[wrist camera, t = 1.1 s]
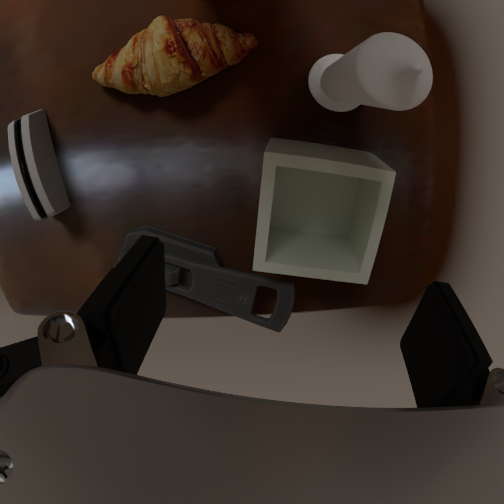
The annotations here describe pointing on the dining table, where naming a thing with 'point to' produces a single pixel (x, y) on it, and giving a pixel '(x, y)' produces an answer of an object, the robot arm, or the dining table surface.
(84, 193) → the dining table surface
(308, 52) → the dining table surface
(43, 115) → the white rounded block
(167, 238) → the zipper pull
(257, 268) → the open square box
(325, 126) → the dining table surface
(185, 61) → the croissant
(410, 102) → the candle
